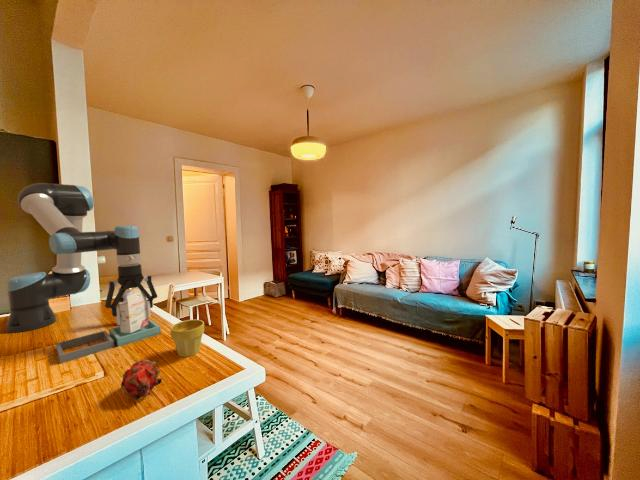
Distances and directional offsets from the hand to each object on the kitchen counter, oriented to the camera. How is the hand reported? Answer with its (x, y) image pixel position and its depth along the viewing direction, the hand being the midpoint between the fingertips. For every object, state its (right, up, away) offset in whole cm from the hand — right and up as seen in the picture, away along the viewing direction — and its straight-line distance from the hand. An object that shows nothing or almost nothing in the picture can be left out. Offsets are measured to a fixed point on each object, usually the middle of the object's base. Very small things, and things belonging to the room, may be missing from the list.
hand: (134, 319), depth 105 cm
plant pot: (+29, -7, -14) cm, 34 cm away
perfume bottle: (-12, -6, +14) cm, 19 cm away
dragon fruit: (+27, -9, -35) cm, 45 cm away
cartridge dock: (-11, -7, -10) cm, 16 cm away
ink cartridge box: (0, -4, 0) cm, 4 cm away
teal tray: (0, -6, 0) cm, 6 cm away
